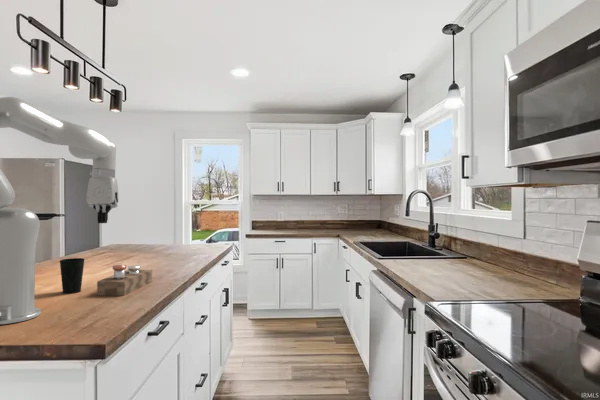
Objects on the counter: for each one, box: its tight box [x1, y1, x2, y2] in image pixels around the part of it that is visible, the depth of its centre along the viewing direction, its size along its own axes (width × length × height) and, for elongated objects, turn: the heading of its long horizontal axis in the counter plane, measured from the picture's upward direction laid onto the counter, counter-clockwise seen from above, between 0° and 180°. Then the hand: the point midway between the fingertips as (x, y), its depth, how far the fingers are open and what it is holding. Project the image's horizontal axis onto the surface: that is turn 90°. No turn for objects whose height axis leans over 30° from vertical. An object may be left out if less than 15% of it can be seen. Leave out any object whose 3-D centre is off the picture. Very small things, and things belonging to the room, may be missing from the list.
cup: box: [59, 257, 85, 295], centre depth 128 cm, size 8×8×12 cm
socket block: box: [96, 269, 153, 297], centre depth 135 cm, size 22×10×5 cm, turn 179°
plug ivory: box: [127, 265, 141, 274], centre depth 141 cm, size 5×5×7 cm
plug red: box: [112, 264, 127, 280], centre depth 130 cm, size 5×5×7 cm
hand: (102, 223), depth 130 cm, fingers closed
